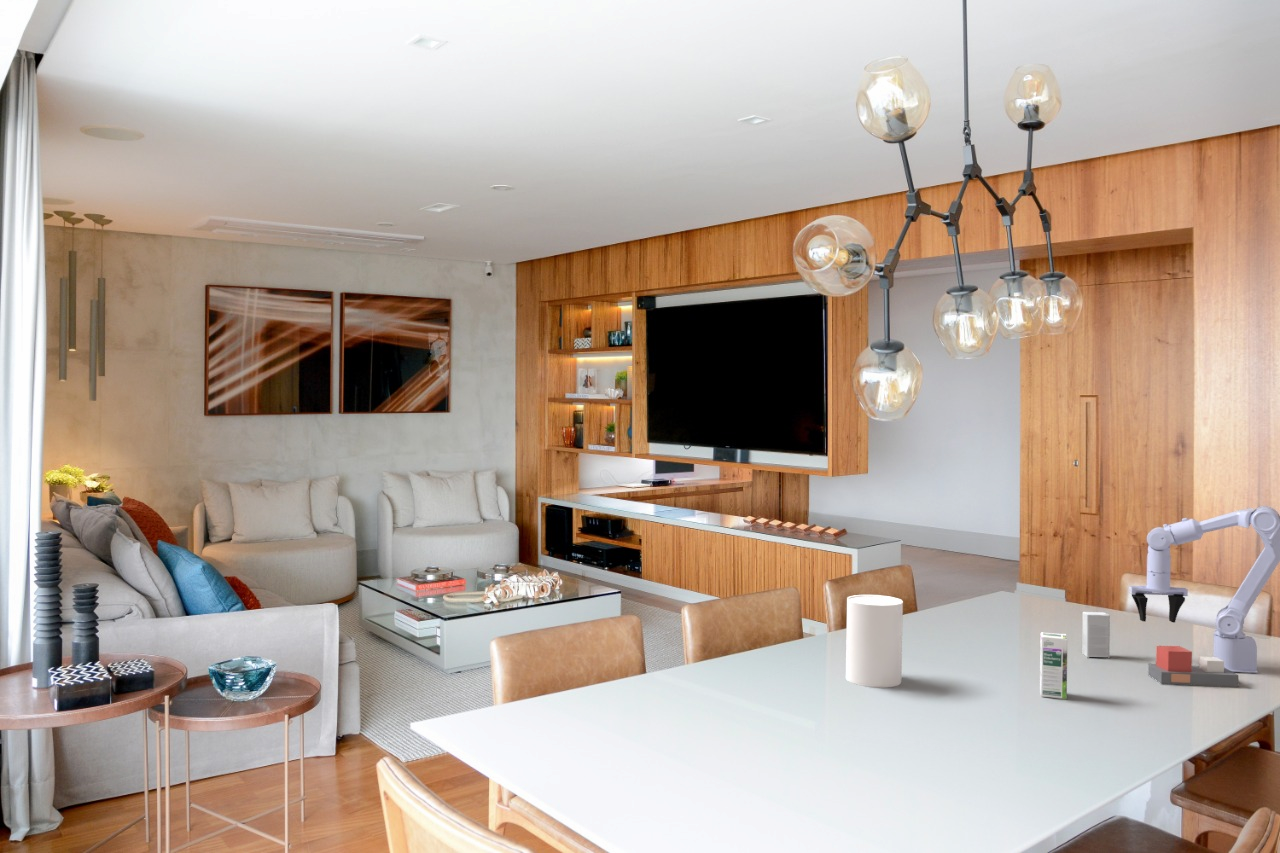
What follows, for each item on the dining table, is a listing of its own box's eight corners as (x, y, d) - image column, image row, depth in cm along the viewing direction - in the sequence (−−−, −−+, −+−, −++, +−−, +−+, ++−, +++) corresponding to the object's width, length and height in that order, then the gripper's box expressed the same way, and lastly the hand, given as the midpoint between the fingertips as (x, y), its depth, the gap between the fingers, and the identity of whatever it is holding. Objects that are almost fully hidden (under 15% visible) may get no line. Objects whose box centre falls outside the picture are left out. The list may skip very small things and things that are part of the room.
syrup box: (1040, 697, 230) (1041, 636, 230) (1039, 690, 236) (1040, 630, 236) (1066, 700, 228) (1067, 638, 228) (1065, 693, 234) (1066, 632, 234)
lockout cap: (1179, 665, 249) (1179, 646, 249) (1191, 671, 243) (1192, 651, 243) (1156, 665, 249) (1156, 645, 249) (1168, 671, 243) (1168, 651, 243)
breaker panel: (1222, 678, 249) (1222, 666, 248) (1238, 687, 240) (1238, 675, 240) (1148, 675, 251) (1148, 663, 251) (1161, 684, 242) (1161, 672, 242)
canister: (858, 669, 253) (859, 592, 253) (909, 678, 245) (910, 599, 245) (837, 680, 242) (838, 600, 242) (889, 690, 234) (890, 607, 234)
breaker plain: (1216, 671, 247) (1216, 657, 247) (1223, 675, 243) (1224, 661, 243) (1199, 670, 247) (1199, 656, 247) (1206, 674, 243) (1207, 660, 243)
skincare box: (1103, 654, 271) (1104, 611, 271) (1109, 658, 267) (1110, 615, 267) (1081, 654, 272) (1082, 611, 271) (1086, 658, 267) (1087, 614, 267)
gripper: (1180, 570, 270) (1178, 618, 270) (1125, 568, 271) (1124, 617, 272) (1191, 574, 263) (1190, 624, 263) (1135, 572, 264) (1134, 622, 265)
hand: (1157, 621), depth 267 cm, fingers open, 7 cm apart
